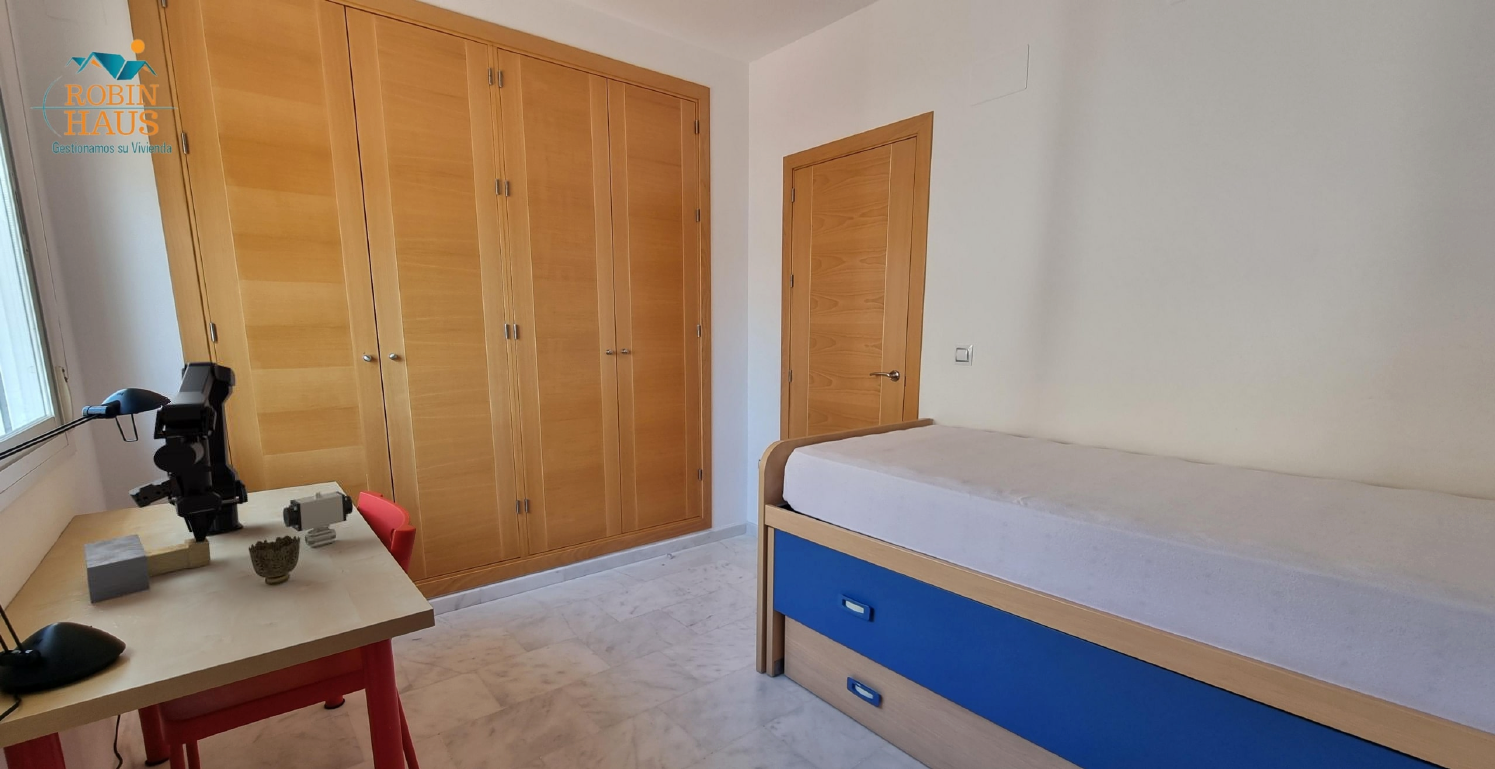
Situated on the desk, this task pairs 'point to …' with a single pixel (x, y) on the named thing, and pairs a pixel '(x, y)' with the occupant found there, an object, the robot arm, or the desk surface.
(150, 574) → the wooden bar
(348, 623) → the desk surface
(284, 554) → the cup
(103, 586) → the gray rectangular block
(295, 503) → the pneumatic valve
